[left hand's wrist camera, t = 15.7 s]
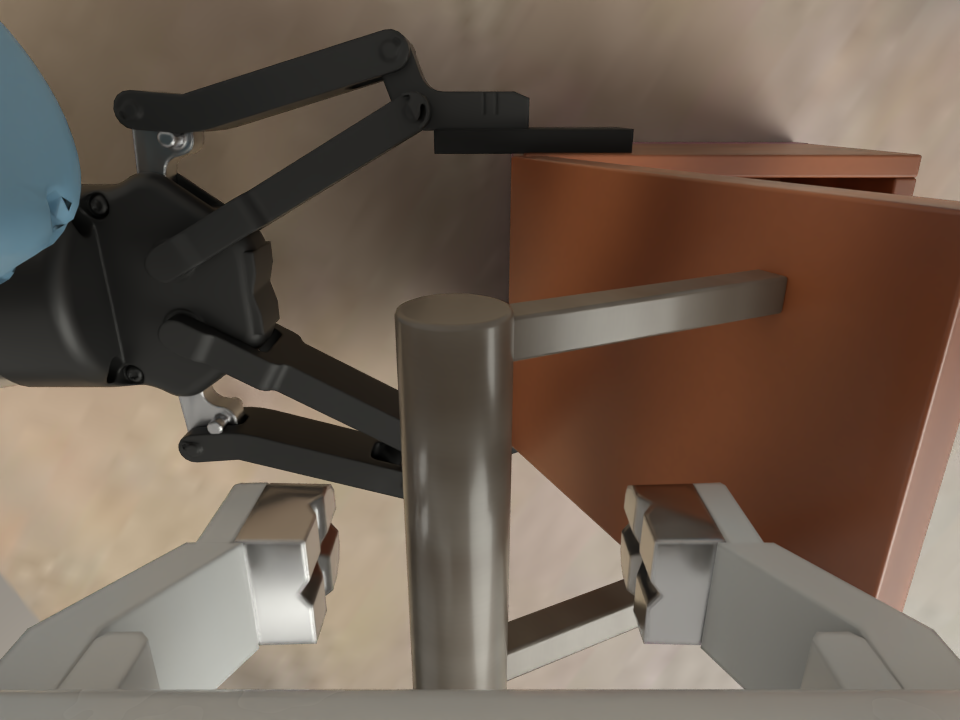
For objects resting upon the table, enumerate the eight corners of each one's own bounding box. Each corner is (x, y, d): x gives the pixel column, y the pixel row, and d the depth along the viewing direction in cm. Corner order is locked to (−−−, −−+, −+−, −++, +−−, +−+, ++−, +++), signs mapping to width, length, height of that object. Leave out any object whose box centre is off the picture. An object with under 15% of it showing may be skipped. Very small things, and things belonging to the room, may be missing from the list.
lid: (1027, 208, 9) (508, 265, 6) (871, 721, 12) (496, 945, 9) (540, 155, 20) (267, 163, 17) (530, 435, 24) (304, 489, 20)
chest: (795, 142, 29) (924, 154, 20) (760, 349, 32) (857, 432, 24) (512, 142, 29) (523, 154, 20) (508, 348, 32) (517, 431, 24)
